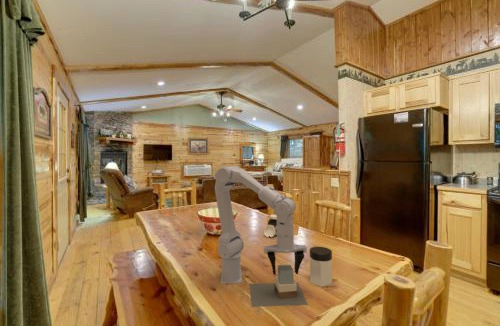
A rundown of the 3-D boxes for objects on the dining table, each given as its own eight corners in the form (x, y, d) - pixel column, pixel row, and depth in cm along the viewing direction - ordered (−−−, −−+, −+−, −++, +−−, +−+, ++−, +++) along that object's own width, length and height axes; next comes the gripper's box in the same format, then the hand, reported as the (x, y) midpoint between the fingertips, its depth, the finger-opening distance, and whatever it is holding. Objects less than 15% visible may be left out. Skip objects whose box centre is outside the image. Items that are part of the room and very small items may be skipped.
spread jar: (283, 232, 155) (283, 214, 154) (284, 238, 144) (284, 218, 143) (264, 232, 156) (264, 214, 156) (263, 238, 145) (263, 218, 144)
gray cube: (277, 277, 88) (277, 265, 87) (290, 277, 88) (290, 264, 88) (280, 284, 83) (280, 271, 83) (293, 283, 83) (293, 270, 83)
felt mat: (249, 284, 92) (249, 283, 92) (297, 283, 93) (297, 282, 93) (251, 307, 78) (251, 306, 78) (308, 305, 79) (308, 304, 79)
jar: (336, 281, 94) (336, 250, 94) (326, 290, 88) (326, 256, 88) (315, 274, 100) (315, 244, 100) (304, 281, 94) (304, 250, 94)
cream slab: (274, 283, 88) (274, 277, 88) (291, 281, 89) (290, 275, 89) (279, 292, 82) (279, 285, 82) (296, 290, 83) (296, 284, 83)
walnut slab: (274, 289, 88) (274, 283, 88) (290, 287, 89) (290, 281, 89) (280, 299, 82) (279, 292, 82) (296, 296, 83) (296, 290, 83)
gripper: (265, 238, 81) (265, 279, 81) (309, 237, 81) (309, 278, 82) (263, 231, 88) (263, 269, 88) (303, 230, 88) (303, 268, 89)
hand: (285, 273), depth 85 cm, fingers open, 7 cm apart
